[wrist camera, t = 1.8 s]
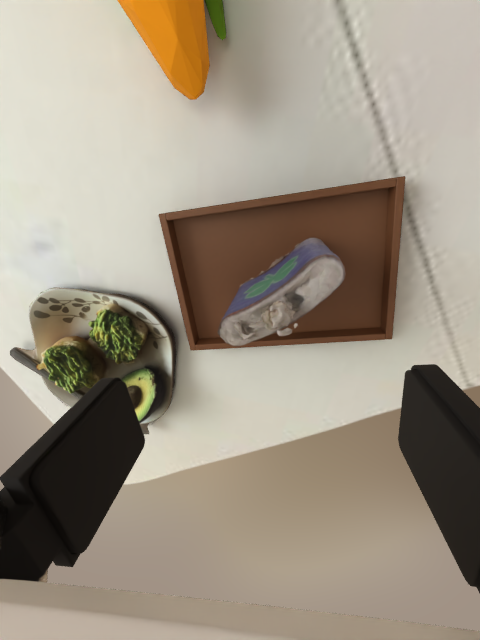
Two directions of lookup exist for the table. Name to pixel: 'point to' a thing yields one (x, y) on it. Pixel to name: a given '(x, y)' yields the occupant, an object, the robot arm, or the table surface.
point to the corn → (178, 37)
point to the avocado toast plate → (101, 348)
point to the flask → (282, 293)
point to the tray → (278, 240)
